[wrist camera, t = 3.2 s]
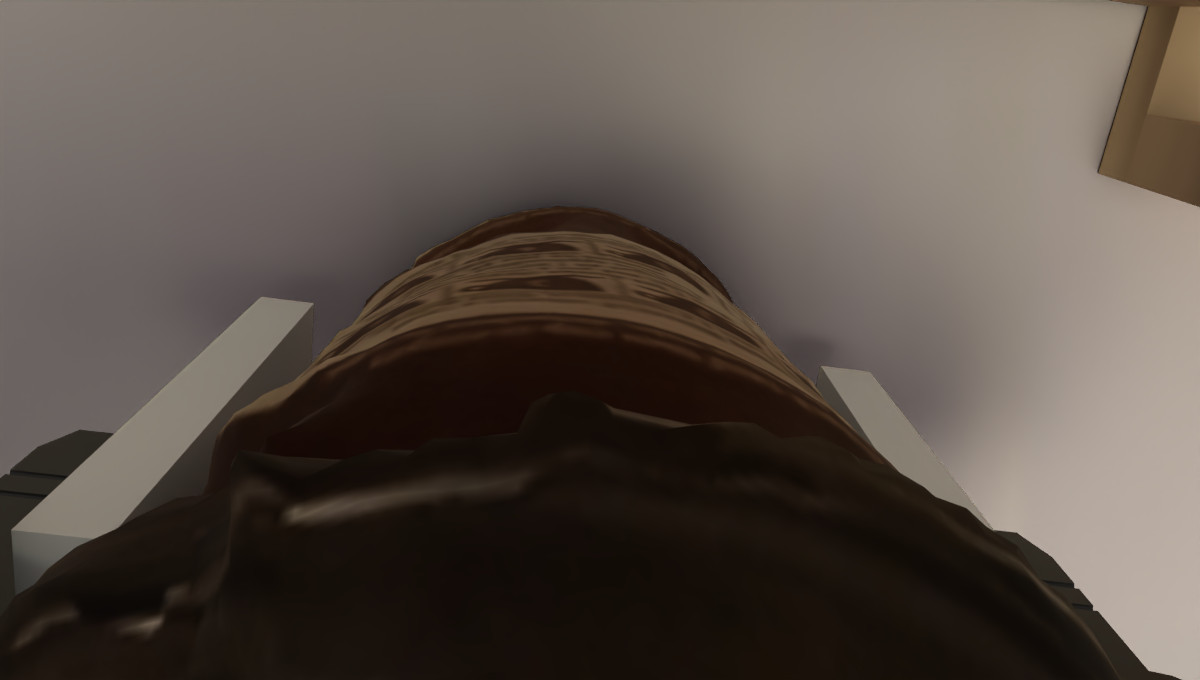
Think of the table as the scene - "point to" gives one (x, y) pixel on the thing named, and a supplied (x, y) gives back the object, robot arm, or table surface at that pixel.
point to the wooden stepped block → (1161, 105)
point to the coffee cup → (549, 505)
